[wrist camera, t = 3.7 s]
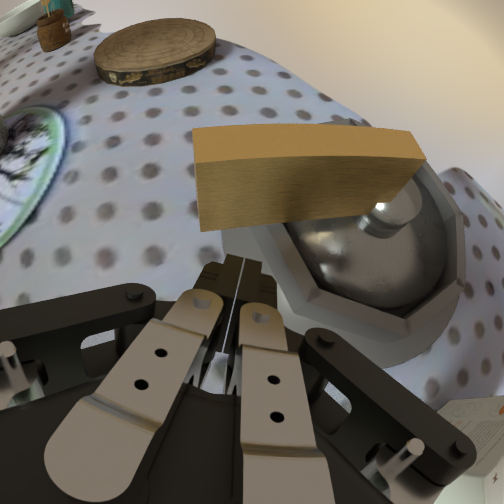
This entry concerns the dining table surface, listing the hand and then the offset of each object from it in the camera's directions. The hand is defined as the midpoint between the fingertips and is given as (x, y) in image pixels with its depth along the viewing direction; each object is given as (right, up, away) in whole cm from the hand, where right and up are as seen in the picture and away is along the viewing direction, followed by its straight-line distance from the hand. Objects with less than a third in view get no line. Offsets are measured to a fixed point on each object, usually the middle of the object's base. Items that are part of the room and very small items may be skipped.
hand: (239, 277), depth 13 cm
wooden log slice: (-12, +27, +19) cm, 35 cm away
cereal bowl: (-57, +58, +26) cm, 85 cm away
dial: (+7, +3, +9) cm, 11 cm away
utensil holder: (-34, +38, +20) cm, 54 cm away
